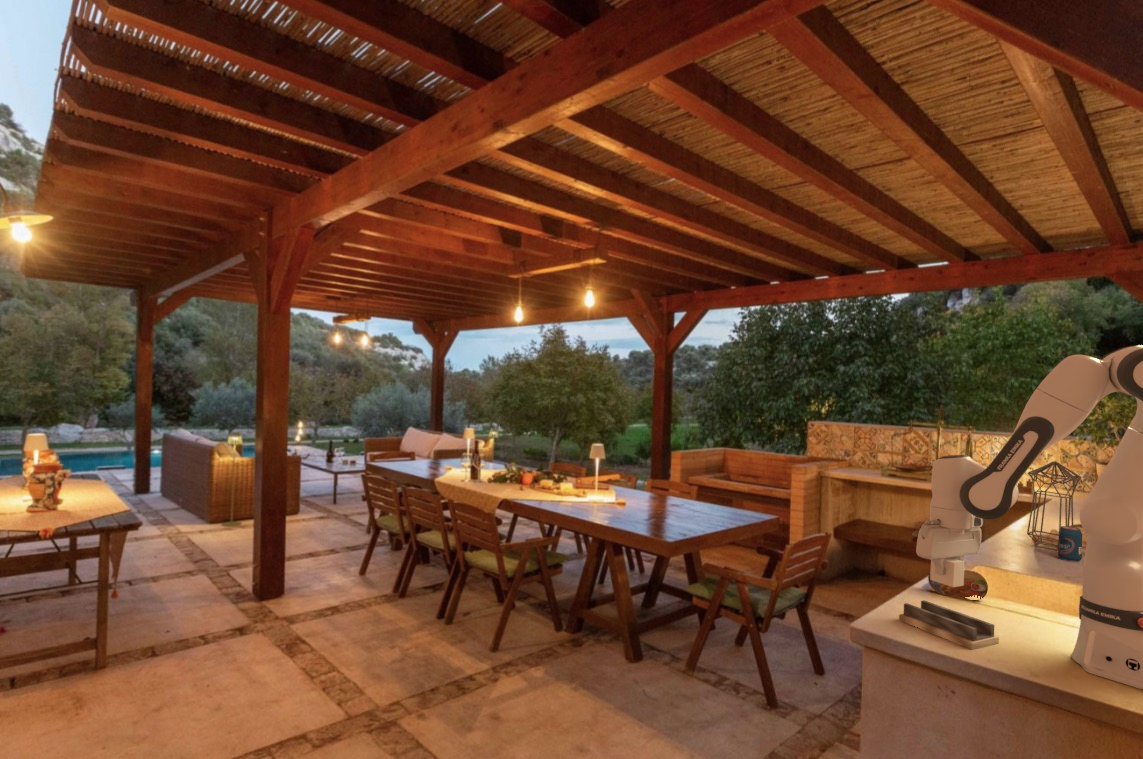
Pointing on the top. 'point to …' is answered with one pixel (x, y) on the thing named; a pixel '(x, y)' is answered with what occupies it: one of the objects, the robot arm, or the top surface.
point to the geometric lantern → (1035, 473)
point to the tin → (972, 586)
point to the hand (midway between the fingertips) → (947, 573)
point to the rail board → (950, 625)
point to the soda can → (1070, 544)
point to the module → (949, 572)
